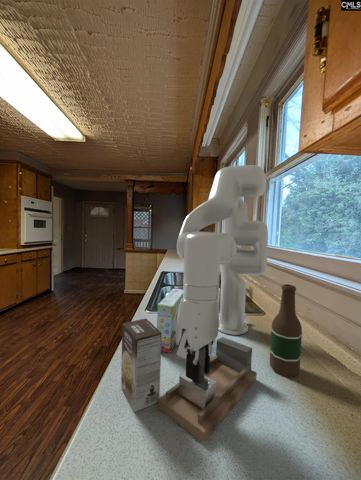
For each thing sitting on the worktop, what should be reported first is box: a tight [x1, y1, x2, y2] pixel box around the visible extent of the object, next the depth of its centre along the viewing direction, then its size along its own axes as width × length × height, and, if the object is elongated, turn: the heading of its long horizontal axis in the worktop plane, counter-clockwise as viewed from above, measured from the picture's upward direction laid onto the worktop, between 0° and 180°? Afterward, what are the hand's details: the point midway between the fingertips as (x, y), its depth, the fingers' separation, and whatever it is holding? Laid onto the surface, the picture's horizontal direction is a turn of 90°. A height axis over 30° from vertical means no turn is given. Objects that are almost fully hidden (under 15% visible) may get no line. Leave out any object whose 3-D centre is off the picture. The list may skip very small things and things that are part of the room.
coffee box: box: [120, 318, 162, 413], centre depth 53 cm, size 9×6×16 cm
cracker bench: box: [157, 336, 257, 443], centre depth 55 cm, size 24×12×8 cm, turn 139°
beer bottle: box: [269, 283, 303, 378], centre depth 65 cm, size 8×8×24 cm
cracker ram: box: [178, 346, 216, 409], centre depth 50 cm, size 4×7×11 cm, turn 49°
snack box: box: [156, 288, 183, 354], centre depth 82 cm, size 21×6×15 cm, turn 168°
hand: (197, 374), depth 50 cm, fingers closed on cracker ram, 3 cm apart
